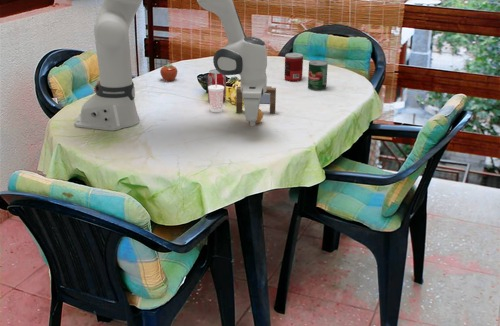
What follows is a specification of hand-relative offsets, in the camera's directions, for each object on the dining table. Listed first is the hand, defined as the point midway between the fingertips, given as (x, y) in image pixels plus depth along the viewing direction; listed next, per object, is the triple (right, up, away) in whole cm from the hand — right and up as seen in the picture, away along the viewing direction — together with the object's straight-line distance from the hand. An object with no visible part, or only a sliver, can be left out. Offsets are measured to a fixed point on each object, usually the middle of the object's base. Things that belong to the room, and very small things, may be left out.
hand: (253, 124), depth 216 cm
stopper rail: (+3, +16, +39) cm, 42 cm away
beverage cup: (-14, +6, +19) cm, 24 cm away
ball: (+1, +3, +5) cm, 6 cm away
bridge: (+1, +6, +17) cm, 18 cm away
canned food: (+18, +23, +57) cm, 64 cm away
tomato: (-36, +23, +55) cm, 70 cm away
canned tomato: (+27, +18, +46) cm, 56 cm away
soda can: (-14, +11, +29) cm, 34 cm away
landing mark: (+2, +12, +32) cm, 34 cm away
